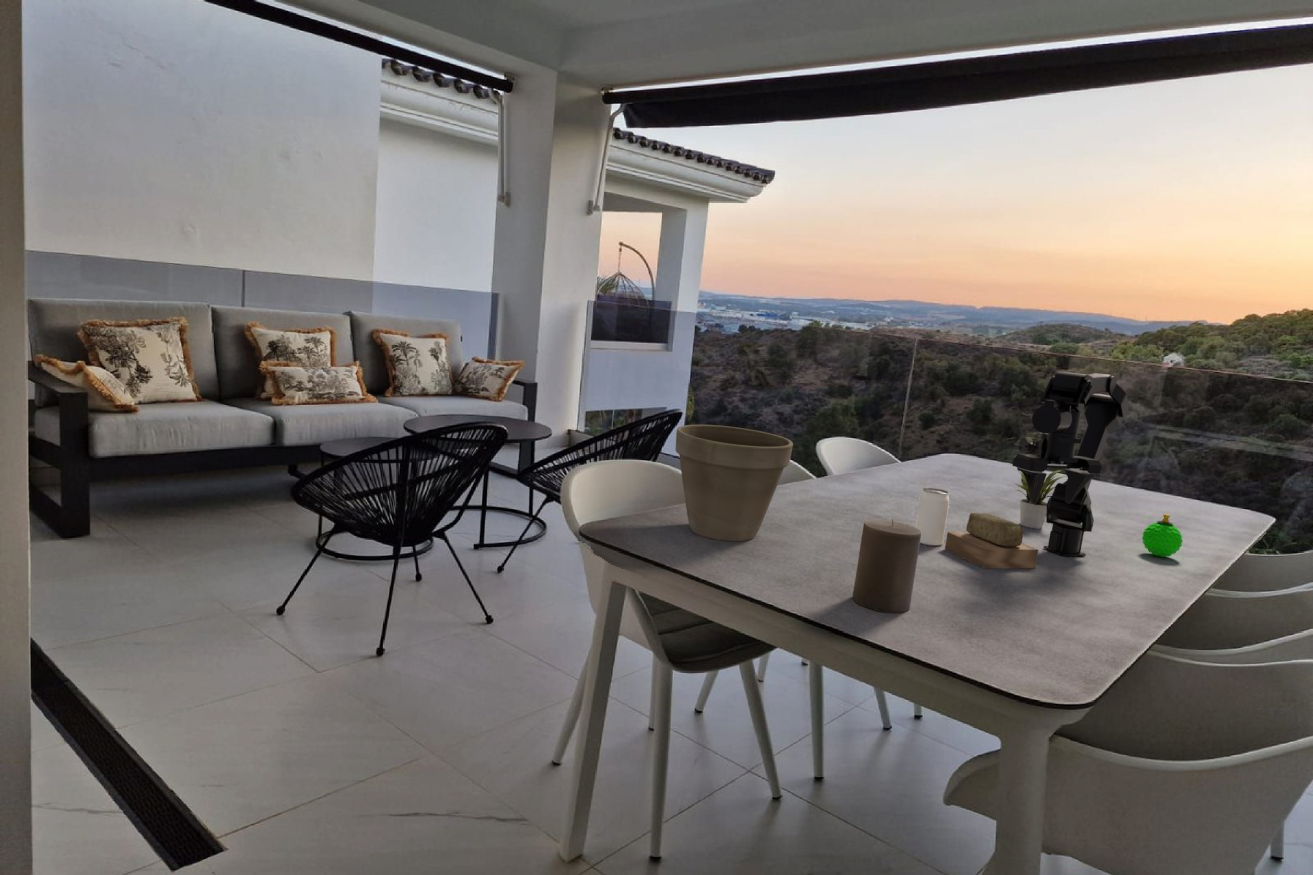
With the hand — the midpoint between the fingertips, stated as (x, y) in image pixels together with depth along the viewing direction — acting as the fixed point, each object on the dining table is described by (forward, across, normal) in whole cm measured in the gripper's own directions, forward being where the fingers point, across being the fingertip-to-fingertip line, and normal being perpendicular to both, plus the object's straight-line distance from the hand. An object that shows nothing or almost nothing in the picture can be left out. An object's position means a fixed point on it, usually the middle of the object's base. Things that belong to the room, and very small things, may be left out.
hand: (1050, 502), depth 180 cm
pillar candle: (+13, +54, +22) cm, 60 cm away
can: (+13, +19, -14) cm, 27 cm away
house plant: (+13, -24, -28) cm, 39 cm away
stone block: (+9, +12, -2) cm, 15 cm away
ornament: (+13, -37, -3) cm, 39 cm away
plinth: (+13, +12, -2) cm, 18 cm away
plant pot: (+13, +66, -21) cm, 70 cm away
